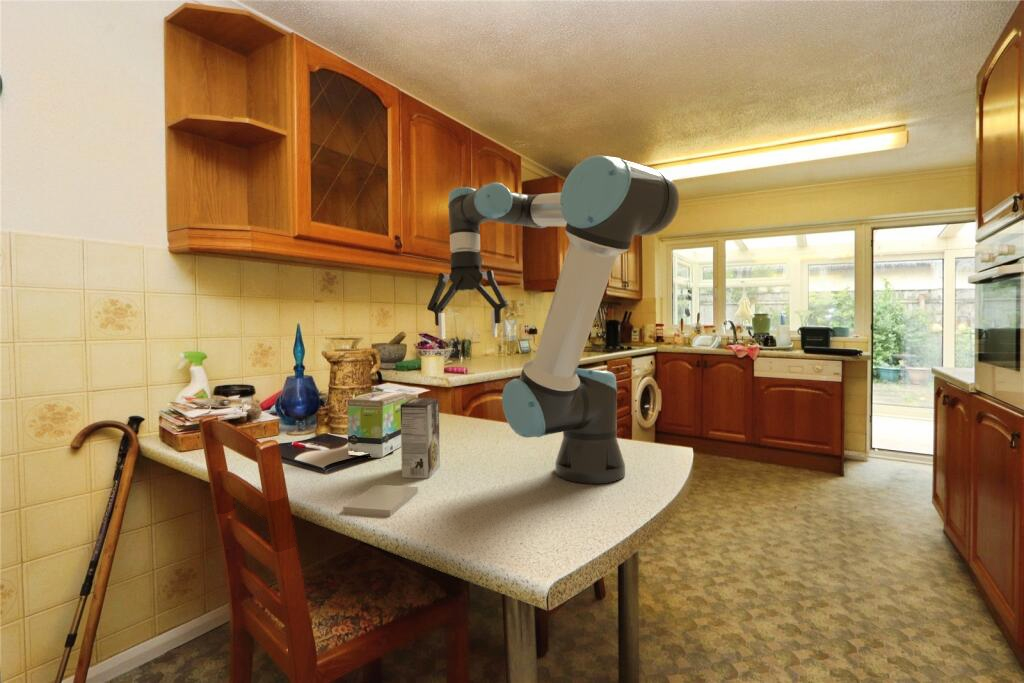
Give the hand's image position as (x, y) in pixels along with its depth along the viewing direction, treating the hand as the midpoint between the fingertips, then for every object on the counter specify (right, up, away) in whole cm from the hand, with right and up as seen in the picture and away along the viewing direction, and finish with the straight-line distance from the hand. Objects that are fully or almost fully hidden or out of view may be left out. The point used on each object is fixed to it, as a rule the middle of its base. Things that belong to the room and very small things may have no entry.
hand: (468, 338), depth 121 cm
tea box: (-24, -30, +8) cm, 39 cm away
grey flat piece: (-12, -30, -24) cm, 41 cm away
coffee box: (-10, -30, -12) cm, 34 cm away
